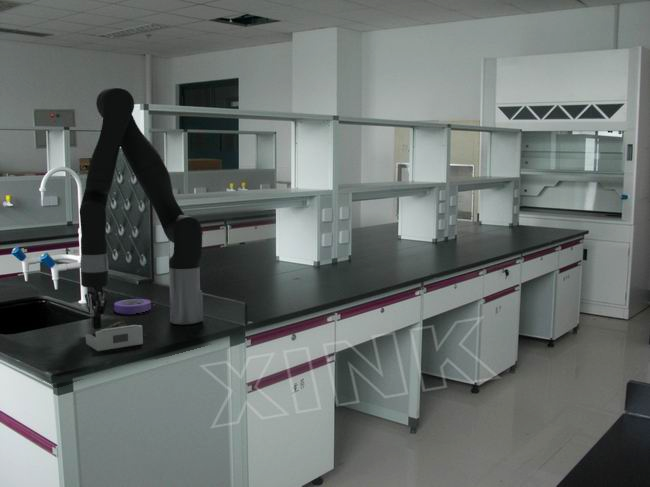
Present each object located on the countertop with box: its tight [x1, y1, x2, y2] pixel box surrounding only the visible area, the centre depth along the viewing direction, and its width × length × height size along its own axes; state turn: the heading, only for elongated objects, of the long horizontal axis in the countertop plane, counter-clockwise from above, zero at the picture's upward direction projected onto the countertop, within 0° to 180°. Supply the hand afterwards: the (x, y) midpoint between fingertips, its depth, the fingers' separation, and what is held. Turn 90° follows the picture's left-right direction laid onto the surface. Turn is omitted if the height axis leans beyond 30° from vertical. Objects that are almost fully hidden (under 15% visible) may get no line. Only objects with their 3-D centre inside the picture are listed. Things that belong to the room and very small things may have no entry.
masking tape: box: [113, 298, 152, 315], centre depth 224 cm, size 12×12×4 cm
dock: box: [85, 324, 144, 352], centre depth 185 cm, size 12×10×5 cm
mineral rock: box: [103, 320, 127, 329], centre depth 193 cm, size 11×4×8 cm
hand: (96, 328), depth 196 cm, fingers closed
